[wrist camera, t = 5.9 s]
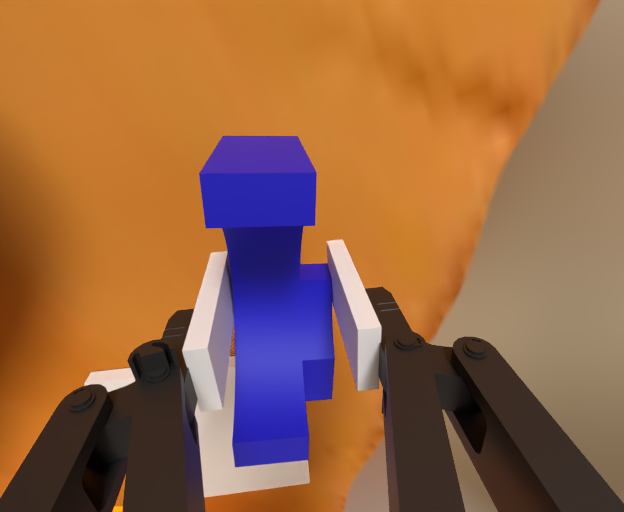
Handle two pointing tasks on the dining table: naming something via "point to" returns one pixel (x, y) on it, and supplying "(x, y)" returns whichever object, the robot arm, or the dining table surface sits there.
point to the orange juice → (117, 509)
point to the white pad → (221, 444)
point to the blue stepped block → (271, 292)
